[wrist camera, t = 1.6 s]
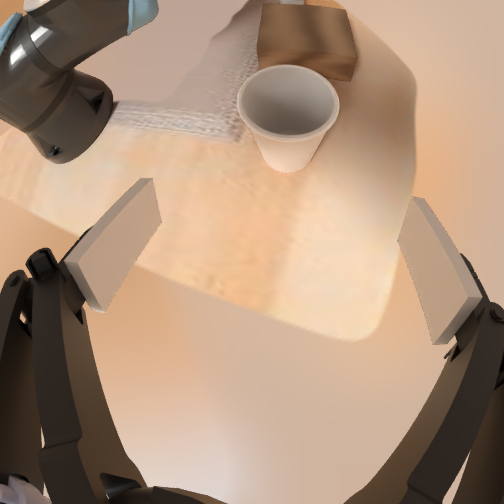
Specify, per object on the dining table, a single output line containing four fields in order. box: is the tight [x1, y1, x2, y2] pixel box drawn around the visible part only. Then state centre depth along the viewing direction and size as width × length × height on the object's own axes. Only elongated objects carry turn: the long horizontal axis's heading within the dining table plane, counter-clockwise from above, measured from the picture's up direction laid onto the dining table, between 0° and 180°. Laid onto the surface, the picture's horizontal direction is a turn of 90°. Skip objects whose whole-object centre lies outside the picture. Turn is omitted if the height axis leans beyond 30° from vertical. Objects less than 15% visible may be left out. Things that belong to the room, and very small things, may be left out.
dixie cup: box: [237, 65, 339, 173], centre depth 24 cm, size 8×8×10 cm
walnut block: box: [257, 4, 357, 81], centre depth 28 cm, size 12×12×5 cm
